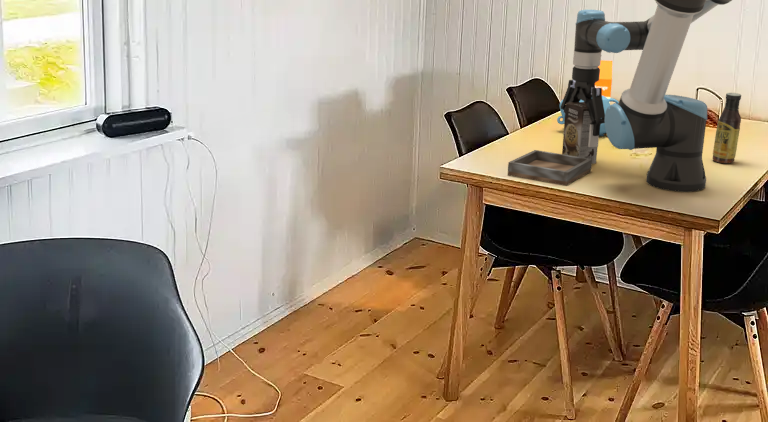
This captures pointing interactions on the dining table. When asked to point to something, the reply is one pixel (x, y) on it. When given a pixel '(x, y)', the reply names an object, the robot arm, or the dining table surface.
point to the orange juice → (605, 78)
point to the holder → (550, 167)
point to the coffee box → (577, 132)
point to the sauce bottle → (728, 130)
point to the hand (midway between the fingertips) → (580, 141)
